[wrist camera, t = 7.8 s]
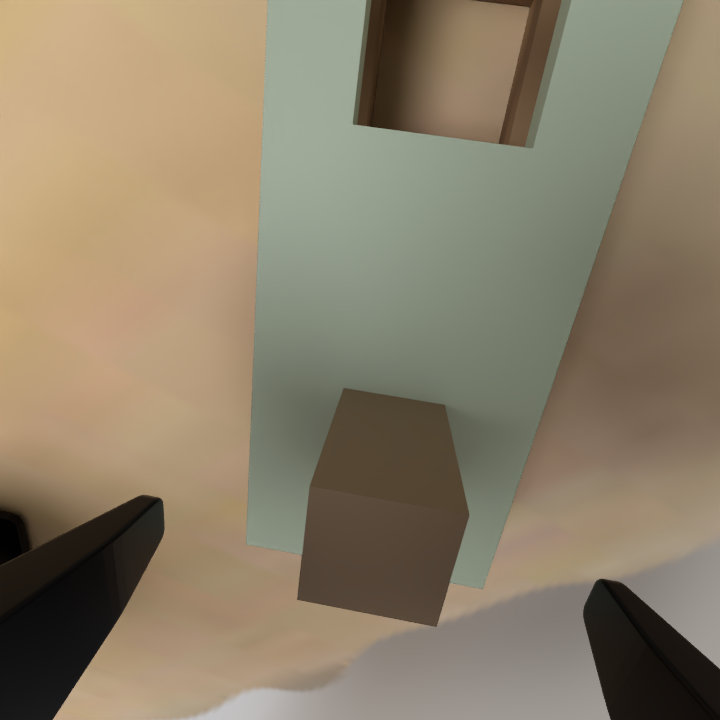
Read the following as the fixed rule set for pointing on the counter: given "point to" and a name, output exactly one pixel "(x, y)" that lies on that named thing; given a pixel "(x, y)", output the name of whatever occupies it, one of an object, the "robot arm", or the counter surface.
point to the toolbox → (526, 76)
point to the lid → (421, 300)
